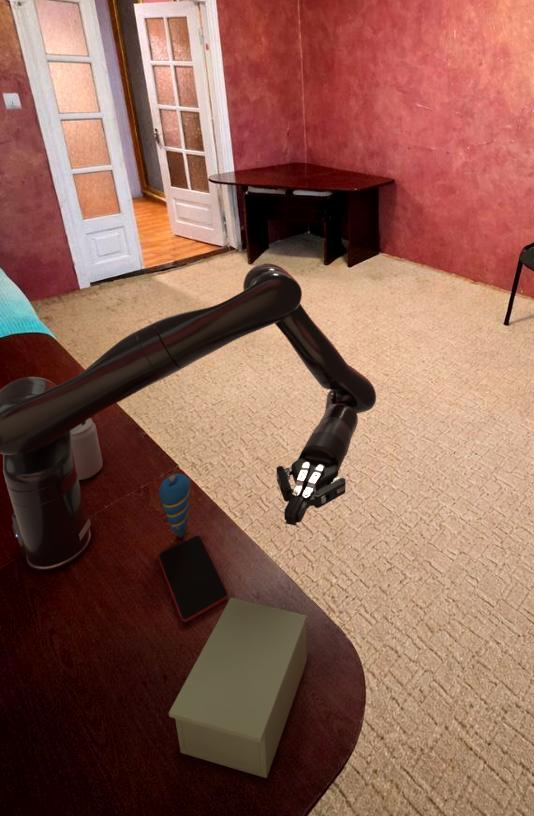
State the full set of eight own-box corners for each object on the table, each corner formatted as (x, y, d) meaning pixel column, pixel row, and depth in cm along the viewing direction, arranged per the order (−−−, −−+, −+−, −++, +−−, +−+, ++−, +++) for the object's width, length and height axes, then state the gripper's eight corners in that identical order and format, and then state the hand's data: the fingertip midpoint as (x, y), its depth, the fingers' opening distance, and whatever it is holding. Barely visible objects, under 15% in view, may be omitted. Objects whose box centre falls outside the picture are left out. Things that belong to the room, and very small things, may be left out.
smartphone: (199, 533, 89) (229, 595, 79) (199, 537, 90) (230, 599, 79) (156, 553, 85) (182, 622, 74) (157, 557, 85) (183, 626, 74)
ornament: (199, 526, 92) (193, 463, 87) (189, 549, 87) (182, 484, 82) (172, 525, 92) (163, 462, 86) (160, 549, 87) (150, 483, 82)
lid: (261, 743, 55) (260, 739, 55) (169, 717, 57) (168, 712, 56) (306, 619, 68) (306, 615, 68) (231, 600, 70) (230, 597, 70)
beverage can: (109, 462, 106) (101, 417, 102) (89, 484, 100) (79, 436, 96) (82, 459, 106) (73, 413, 102) (60, 480, 100) (49, 433, 96)
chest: (266, 778, 59) (264, 734, 56) (180, 753, 60) (173, 709, 57) (307, 660, 71) (306, 619, 68) (234, 641, 73) (231, 601, 70)
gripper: (293, 424, 90) (249, 493, 74) (361, 436, 88) (331, 510, 72) (294, 457, 92) (251, 530, 76) (360, 469, 90) (331, 547, 74)
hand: (290, 520), depth 74 cm, fingers closed
